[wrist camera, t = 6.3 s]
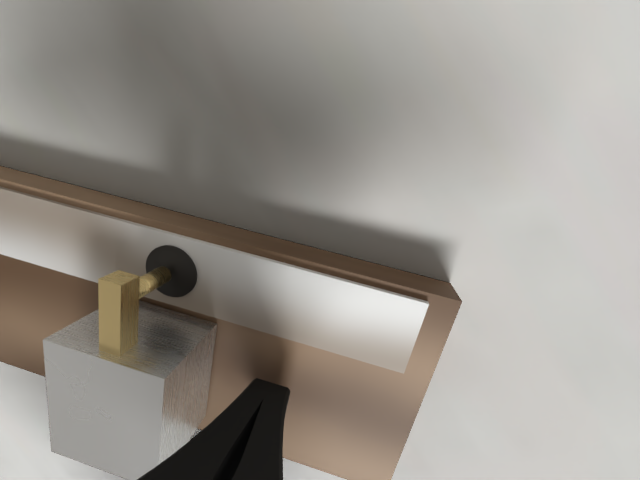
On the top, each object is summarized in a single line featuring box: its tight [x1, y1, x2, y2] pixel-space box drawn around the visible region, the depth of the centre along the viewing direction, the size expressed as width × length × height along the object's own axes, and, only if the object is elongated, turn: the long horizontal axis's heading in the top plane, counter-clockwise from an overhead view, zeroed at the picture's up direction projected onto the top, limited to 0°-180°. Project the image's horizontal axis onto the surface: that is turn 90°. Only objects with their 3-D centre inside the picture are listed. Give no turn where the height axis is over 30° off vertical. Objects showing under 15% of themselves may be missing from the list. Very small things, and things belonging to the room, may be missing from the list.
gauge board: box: [0, 166, 462, 480], centre depth 11 cm, size 9×26×4 cm, turn 78°
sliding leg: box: [43, 266, 217, 480], centre depth 10 cm, size 7×4×3 cm, turn 168°
